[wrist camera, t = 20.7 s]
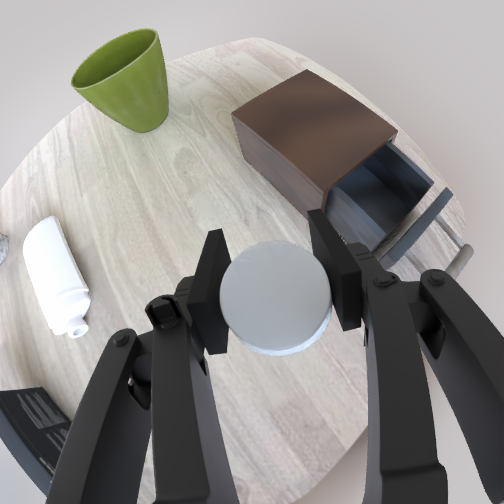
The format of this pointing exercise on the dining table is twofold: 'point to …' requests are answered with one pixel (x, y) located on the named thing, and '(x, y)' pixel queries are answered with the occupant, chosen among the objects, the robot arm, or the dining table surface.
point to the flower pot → (127, 80)
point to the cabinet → (308, 137)
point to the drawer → (389, 207)
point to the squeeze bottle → (56, 278)
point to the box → (33, 432)
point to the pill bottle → (276, 298)
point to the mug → (3, 247)
